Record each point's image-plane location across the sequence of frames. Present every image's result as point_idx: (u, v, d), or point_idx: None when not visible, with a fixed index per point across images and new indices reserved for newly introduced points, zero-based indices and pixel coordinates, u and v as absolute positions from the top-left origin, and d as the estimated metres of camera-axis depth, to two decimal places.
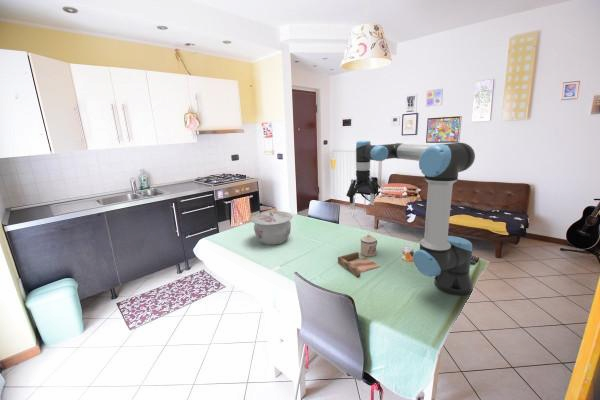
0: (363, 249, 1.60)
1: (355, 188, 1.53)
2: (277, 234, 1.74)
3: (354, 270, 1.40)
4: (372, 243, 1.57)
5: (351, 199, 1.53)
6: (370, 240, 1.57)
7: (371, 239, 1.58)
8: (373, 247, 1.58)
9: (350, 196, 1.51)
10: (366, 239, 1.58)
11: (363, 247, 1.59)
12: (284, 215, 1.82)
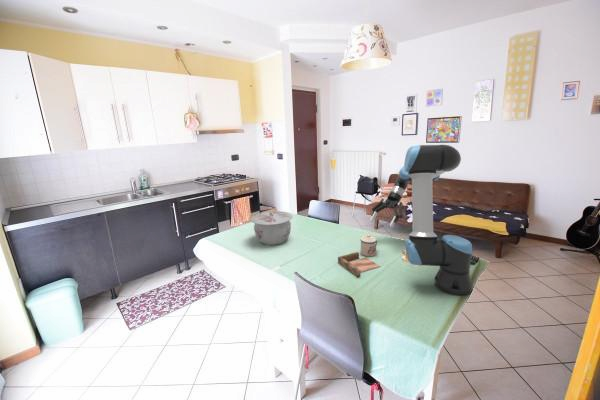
0: (363, 249, 1.60)
1: None
2: (277, 234, 1.74)
3: (354, 270, 1.40)
4: (372, 243, 1.57)
5: (373, 212, 1.73)
6: (370, 240, 1.57)
7: (371, 239, 1.58)
8: (373, 247, 1.58)
9: (372, 209, 1.74)
10: (366, 239, 1.58)
11: (363, 247, 1.59)
12: (284, 215, 1.82)
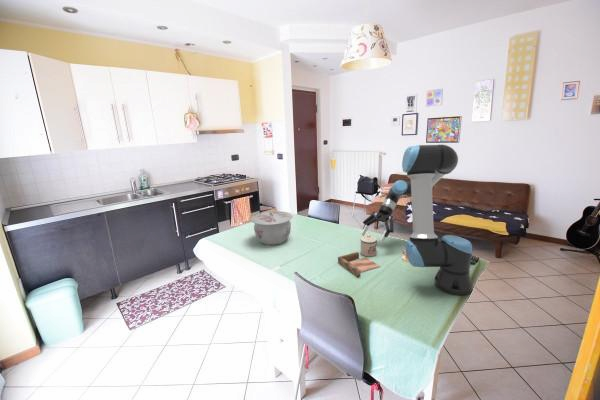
0: (363, 249, 1.60)
1: None
2: (277, 234, 1.74)
3: (354, 270, 1.40)
4: (372, 243, 1.57)
5: (364, 226, 1.71)
6: (370, 240, 1.57)
7: (371, 239, 1.58)
8: (373, 247, 1.58)
9: (364, 222, 1.72)
10: (366, 239, 1.58)
11: (363, 247, 1.59)
12: (284, 215, 1.82)
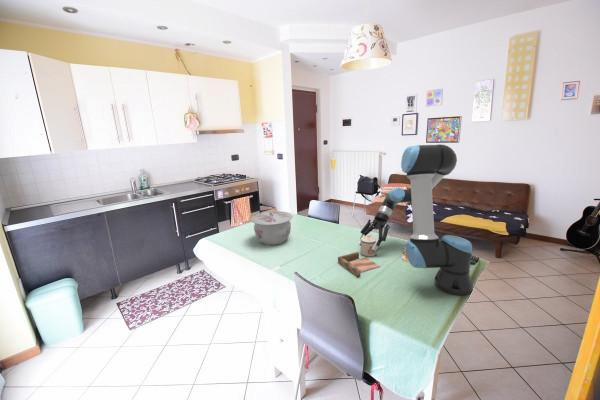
0: (363, 249, 1.59)
1: None
2: (277, 234, 1.74)
3: (354, 270, 1.40)
4: (372, 243, 1.57)
5: None
6: (370, 240, 1.57)
7: (371, 239, 1.58)
8: None
9: (361, 232, 1.67)
10: (366, 239, 1.58)
11: (363, 247, 1.59)
12: (284, 215, 1.82)
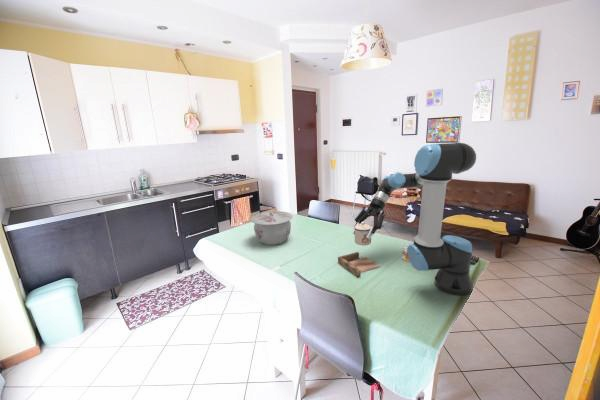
0: (357, 237, 1.48)
1: None
2: (277, 234, 1.74)
3: (354, 270, 1.40)
4: (366, 231, 1.45)
5: (356, 223, 1.54)
6: (364, 227, 1.45)
7: (365, 226, 1.46)
8: None
9: (356, 220, 1.55)
10: (360, 227, 1.46)
11: (357, 235, 1.47)
12: (284, 215, 1.82)
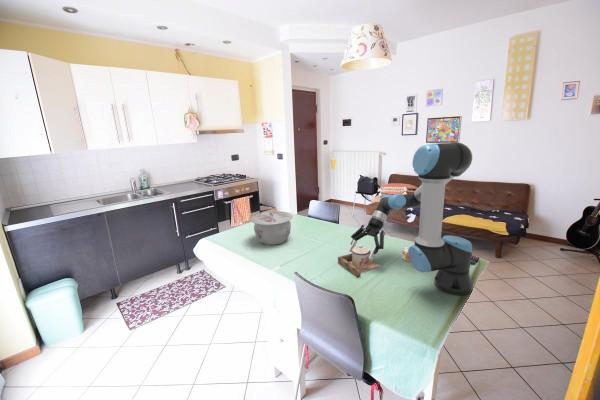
0: (354, 261, 1.46)
1: None
2: (277, 234, 1.74)
3: (354, 270, 1.40)
4: (364, 255, 1.43)
5: (352, 240, 1.53)
6: (362, 251, 1.43)
7: (363, 250, 1.44)
8: (365, 259, 1.44)
9: (352, 237, 1.54)
10: (358, 250, 1.44)
11: (354, 259, 1.45)
12: (284, 215, 1.82)
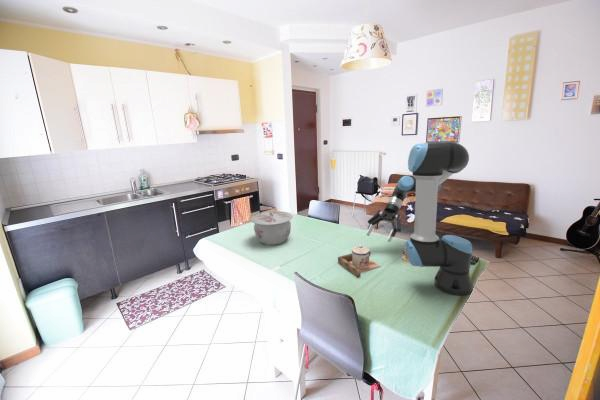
0: (354, 261, 1.46)
1: None
2: (277, 234, 1.74)
3: (354, 270, 1.40)
4: (364, 255, 1.43)
5: (369, 225, 1.62)
6: (362, 251, 1.43)
7: (363, 250, 1.44)
8: (365, 259, 1.44)
9: (369, 221, 1.63)
10: (358, 250, 1.44)
11: (354, 259, 1.45)
12: (284, 215, 1.82)
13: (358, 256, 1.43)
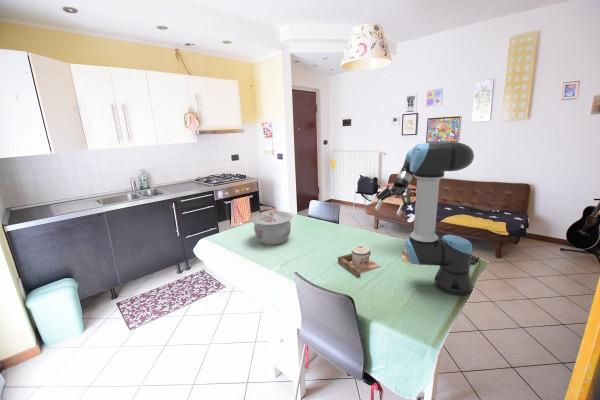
0: (354, 261, 1.46)
1: None
2: (277, 234, 1.74)
3: (354, 270, 1.40)
4: (364, 255, 1.43)
5: (378, 200, 1.61)
6: (362, 251, 1.43)
7: (363, 250, 1.44)
8: (365, 259, 1.44)
9: (377, 197, 1.62)
10: (358, 250, 1.44)
11: (354, 259, 1.45)
12: (284, 215, 1.82)
13: (358, 256, 1.43)
